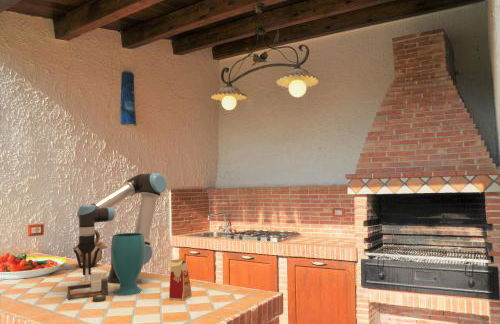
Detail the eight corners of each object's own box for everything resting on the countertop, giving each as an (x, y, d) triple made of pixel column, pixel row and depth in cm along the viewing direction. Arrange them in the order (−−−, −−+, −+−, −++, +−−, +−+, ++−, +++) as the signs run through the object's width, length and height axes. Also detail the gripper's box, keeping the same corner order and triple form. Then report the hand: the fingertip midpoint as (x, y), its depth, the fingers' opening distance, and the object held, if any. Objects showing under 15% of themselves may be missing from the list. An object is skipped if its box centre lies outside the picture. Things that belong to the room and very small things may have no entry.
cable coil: (104, 298, 223) (104, 293, 223) (106, 300, 218) (106, 296, 218) (92, 299, 220) (92, 295, 221) (93, 302, 215) (93, 298, 215)
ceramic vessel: (72, 266, 310) (72, 230, 311) (99, 262, 322) (99, 227, 323) (80, 270, 296) (80, 232, 297) (109, 266, 308) (109, 230, 308)
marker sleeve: (100, 287, 233) (100, 271, 233) (101, 289, 229) (101, 273, 229) (90, 289, 231) (90, 272, 231) (91, 290, 227) (91, 274, 227)
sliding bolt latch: (106, 292, 235) (106, 278, 236) (108, 295, 229) (108, 281, 229) (67, 296, 227) (67, 282, 227) (68, 299, 221) (68, 285, 221)
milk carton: (191, 296, 225) (191, 256, 226) (183, 300, 216) (182, 259, 217) (175, 294, 228) (175, 255, 228) (166, 299, 219) (166, 258, 220)
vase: (134, 286, 247) (134, 232, 249) (151, 291, 235) (151, 234, 236) (105, 292, 235) (105, 234, 237) (121, 297, 223) (121, 237, 224)
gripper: (98, 233, 235) (98, 278, 234) (72, 235, 230) (72, 281, 229) (101, 234, 229) (101, 281, 228) (73, 236, 223) (73, 284, 222)
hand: (86, 281), depth 228 cm, fingers closed
